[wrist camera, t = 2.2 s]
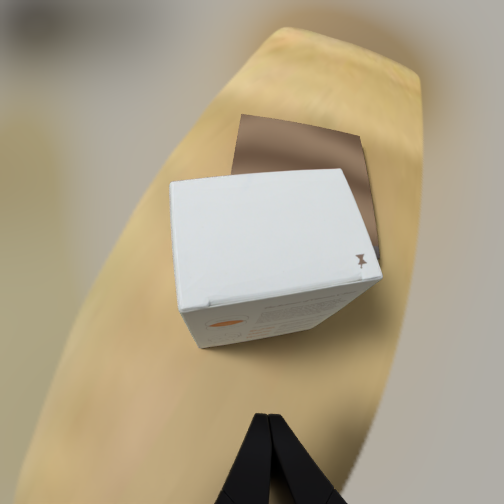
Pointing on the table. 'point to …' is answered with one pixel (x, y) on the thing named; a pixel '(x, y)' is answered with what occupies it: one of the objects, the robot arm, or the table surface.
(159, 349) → the table surface
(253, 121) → the floor panel
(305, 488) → the robot arm
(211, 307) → the small box
